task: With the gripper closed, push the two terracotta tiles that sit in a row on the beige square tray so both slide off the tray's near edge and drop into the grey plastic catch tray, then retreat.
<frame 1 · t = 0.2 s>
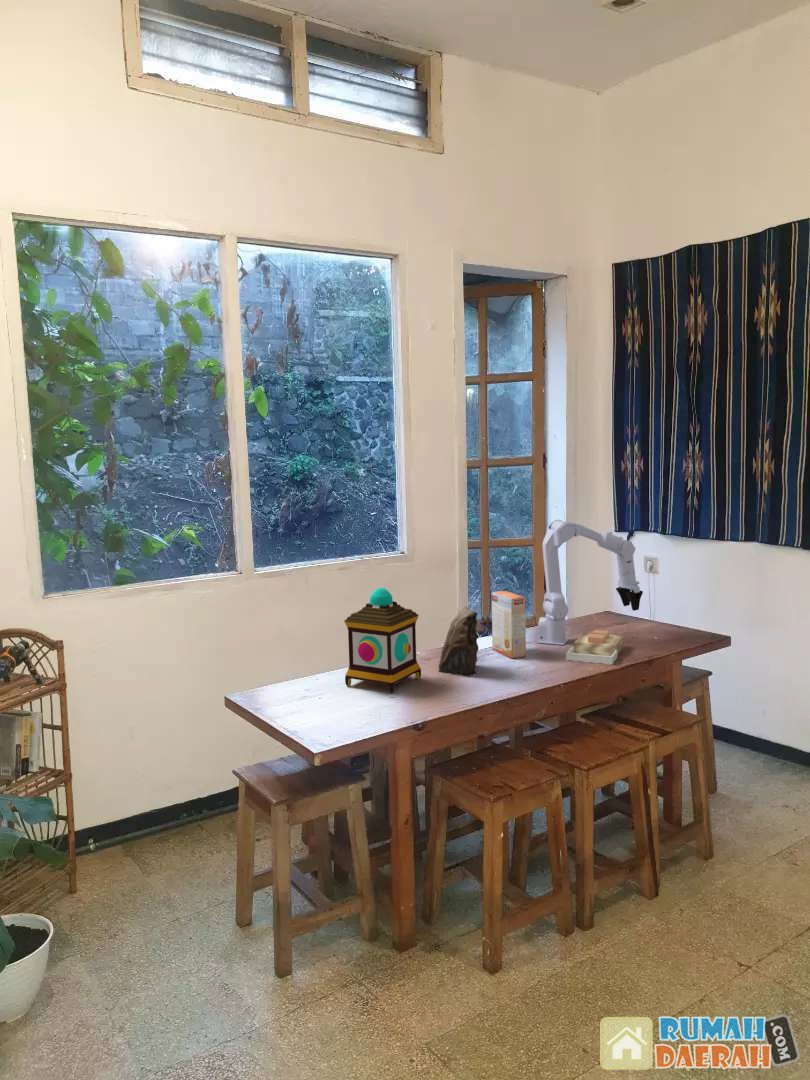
hand: (631, 607, 302), 10 cm above the table, tool pointing down, fingers open, 7 cm apart
tile front: (596, 641, 281), point 4 cm above the table, touching beige square tray
decorative lantern: (383, 683, 255), on the table
brown rock: (458, 671, 266), on the table
beige square tray: (599, 650, 285), on the table
tile rear: (600, 637, 287), point 4 cm above the table, touching beige square tray
catch tray: (591, 658, 275), on the table
cracker box: (509, 653, 284), on the table
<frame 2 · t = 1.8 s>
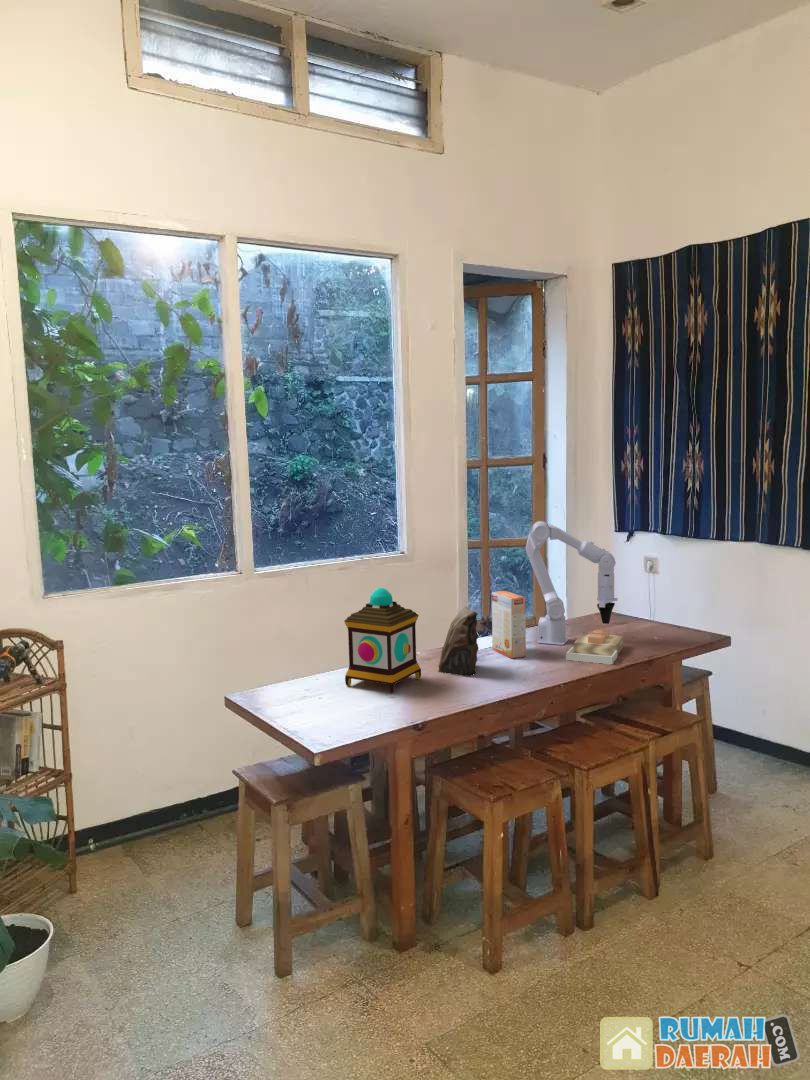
hand: (605, 623, 294), 7 cm above the table, tool pointing down, fingers closed
nothing on the table moved.
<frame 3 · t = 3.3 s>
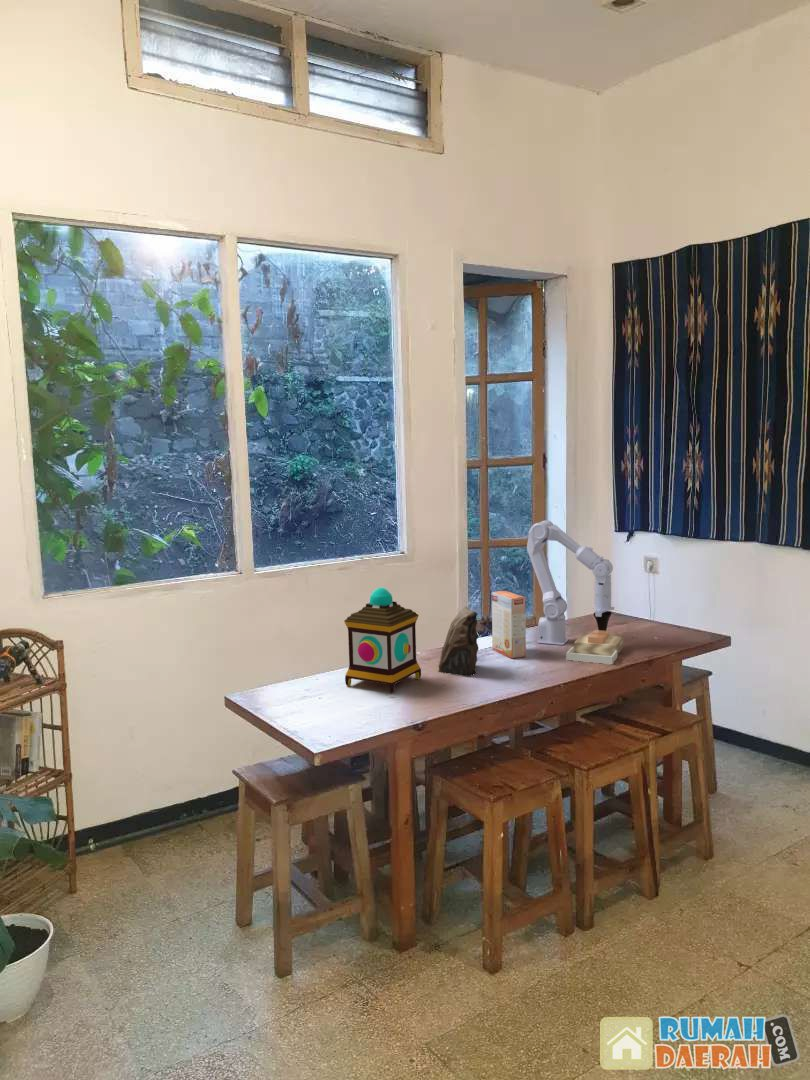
hand: (602, 632, 289), 5 cm above the table, tool pointing down, fingers closed
tile rear: (600, 637, 286), point 4 cm above the table, touching beige square tray, gripper
everything else where it was.
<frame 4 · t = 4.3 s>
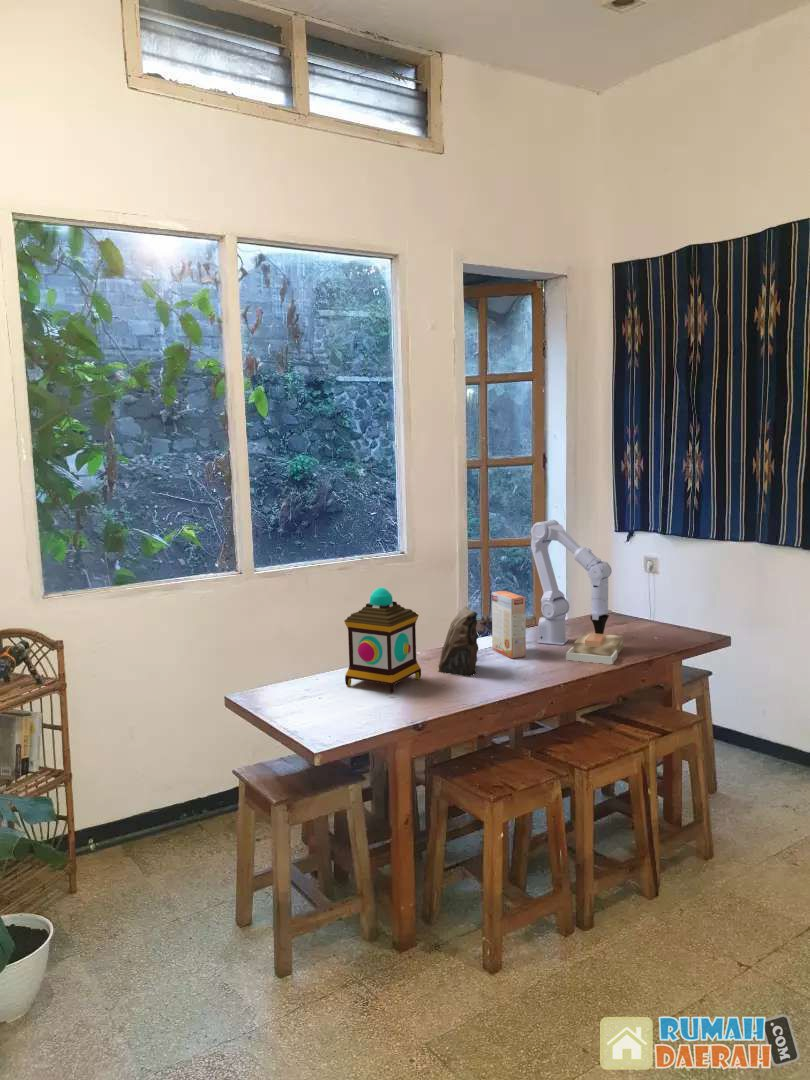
hand: (599, 635, 285), 5 cm above the table, tool pointing down, fingers closed
tile front: (593, 644, 277), point 4 cm above the table, touching beige square tray, tile rear
tile rear: (597, 641, 282), point 4 cm above the table, touching gripper, tile front
everything else where it was.
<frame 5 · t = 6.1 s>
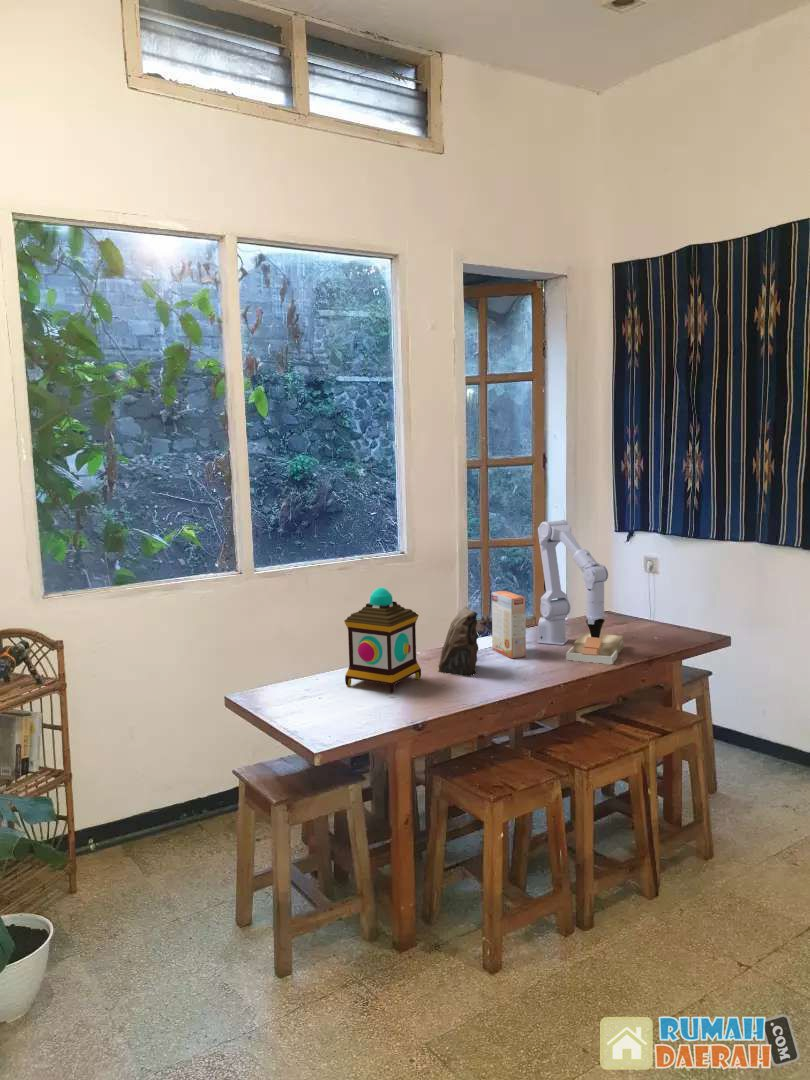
hand: (595, 640, 279), 5 cm above the table, tool pointing down, fingers closed
tile front: (590, 650, 273), point 3 cm above the table, tilted 152°, touching catch tray, tile rear
tile rear: (593, 646, 277), point 3 cm above the table, tilted 28°, touching gripper, tile front
everything else where it was.
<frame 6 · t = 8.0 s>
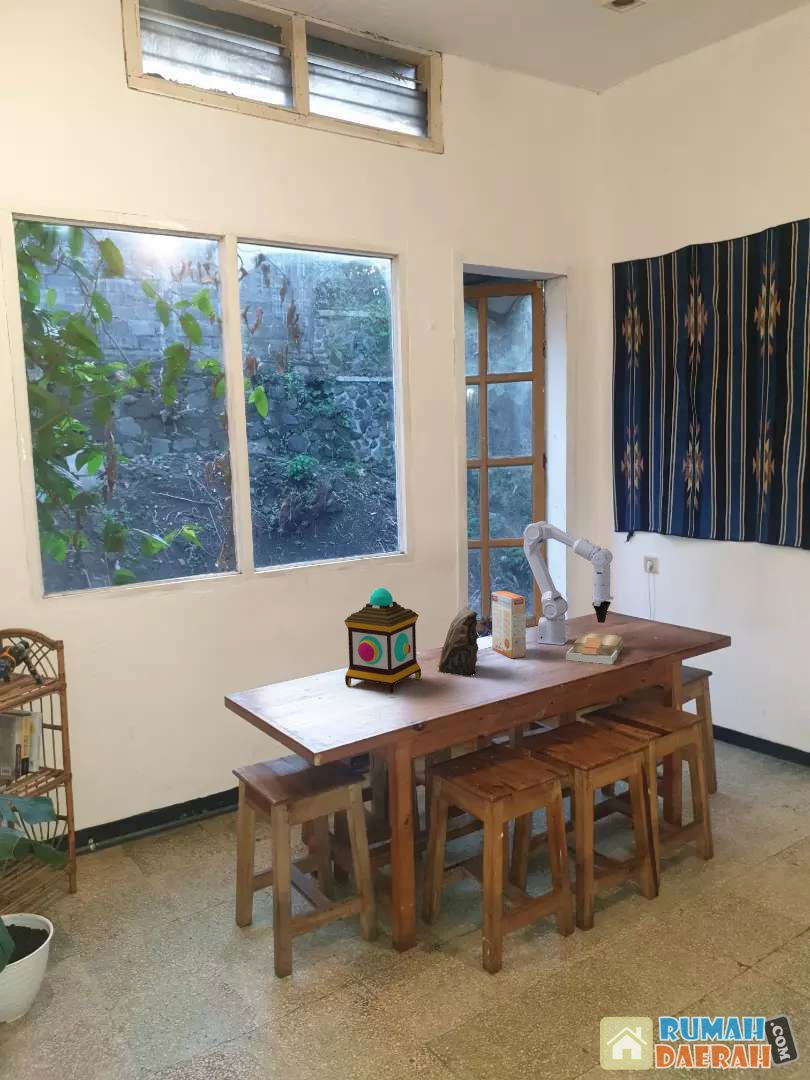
hand: (601, 622, 287), 9 cm above the table, tool pointing down, fingers closed
tile rear: (593, 647, 277), point 3 cm above the table, tilted 24°, touching beige square tray, tile front
everything else where it was.
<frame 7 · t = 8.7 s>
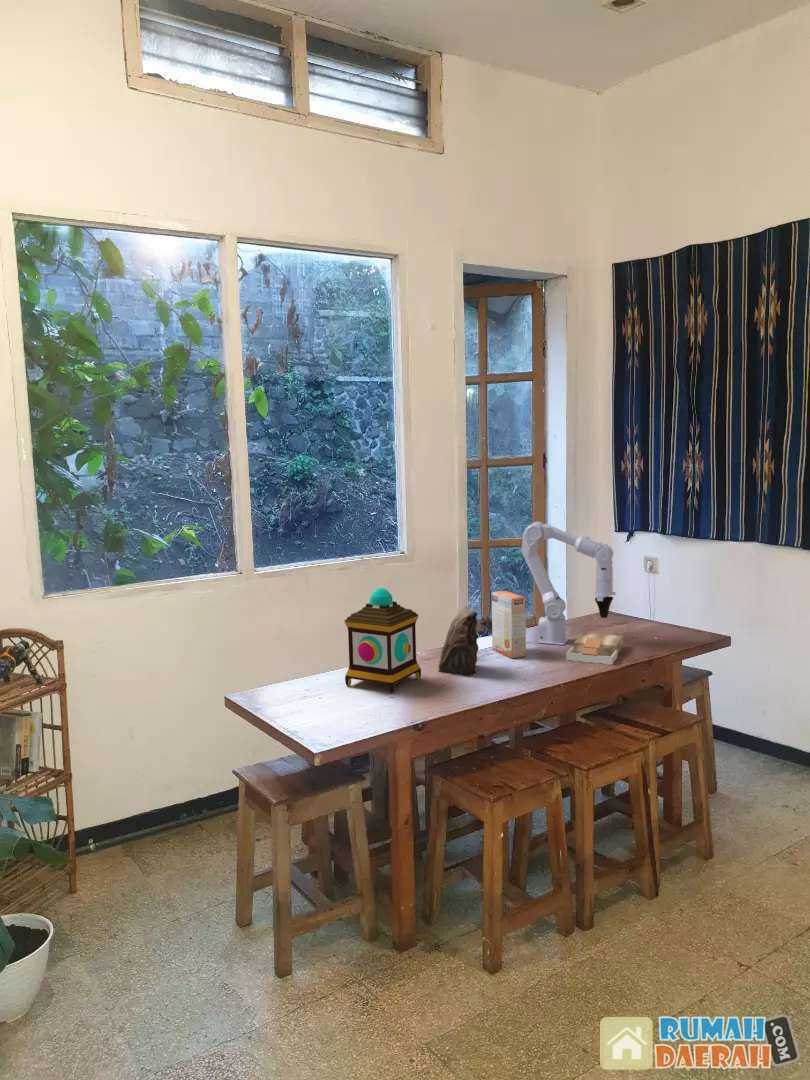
hand: (604, 617, 291), 10 cm above the table, tool pointing down, fingers closed
nothing on the table moved.
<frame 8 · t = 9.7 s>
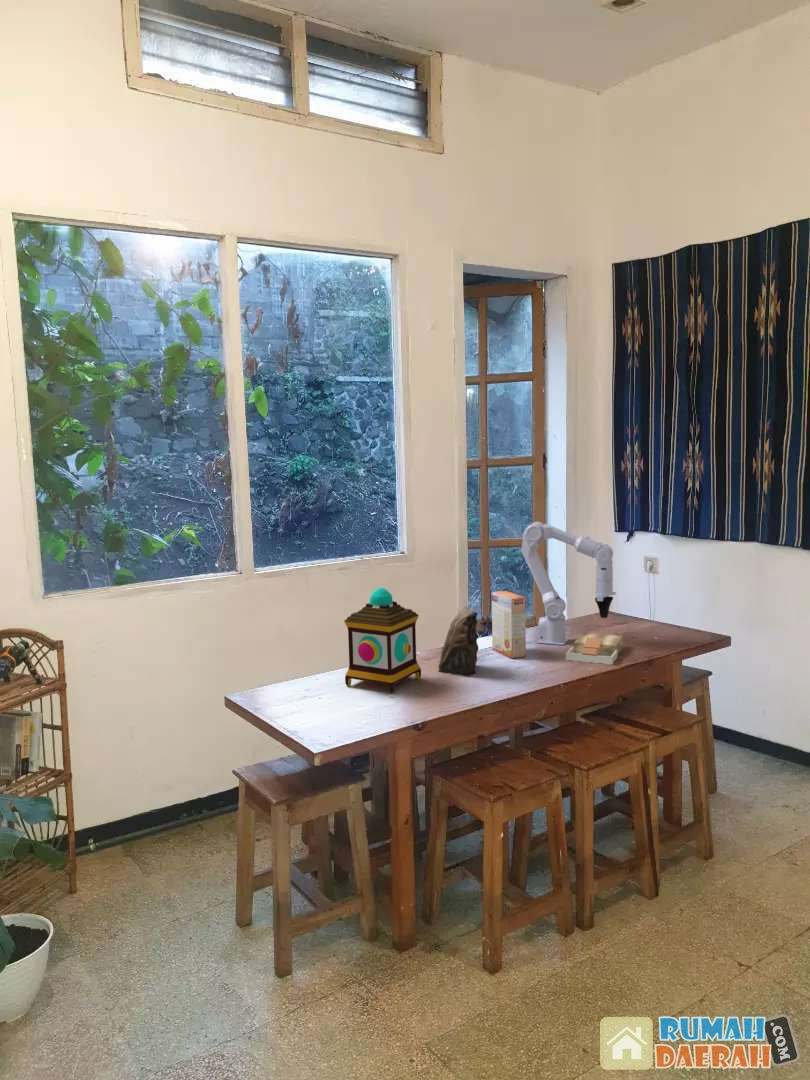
hand: (604, 617, 291), 10 cm above the table, tool pointing down, fingers closed
nothing on the table moved.
at the end: tile front inside the target area on the catch tray (1.3 cm from its centre), point 3.4 cm above the catch tray's base; tile rear inside the target area on the catch tray (3.0 cm from its centre), point 3.3 cm above the catch tray's base; tile rear moved 11.1 cm from its start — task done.
